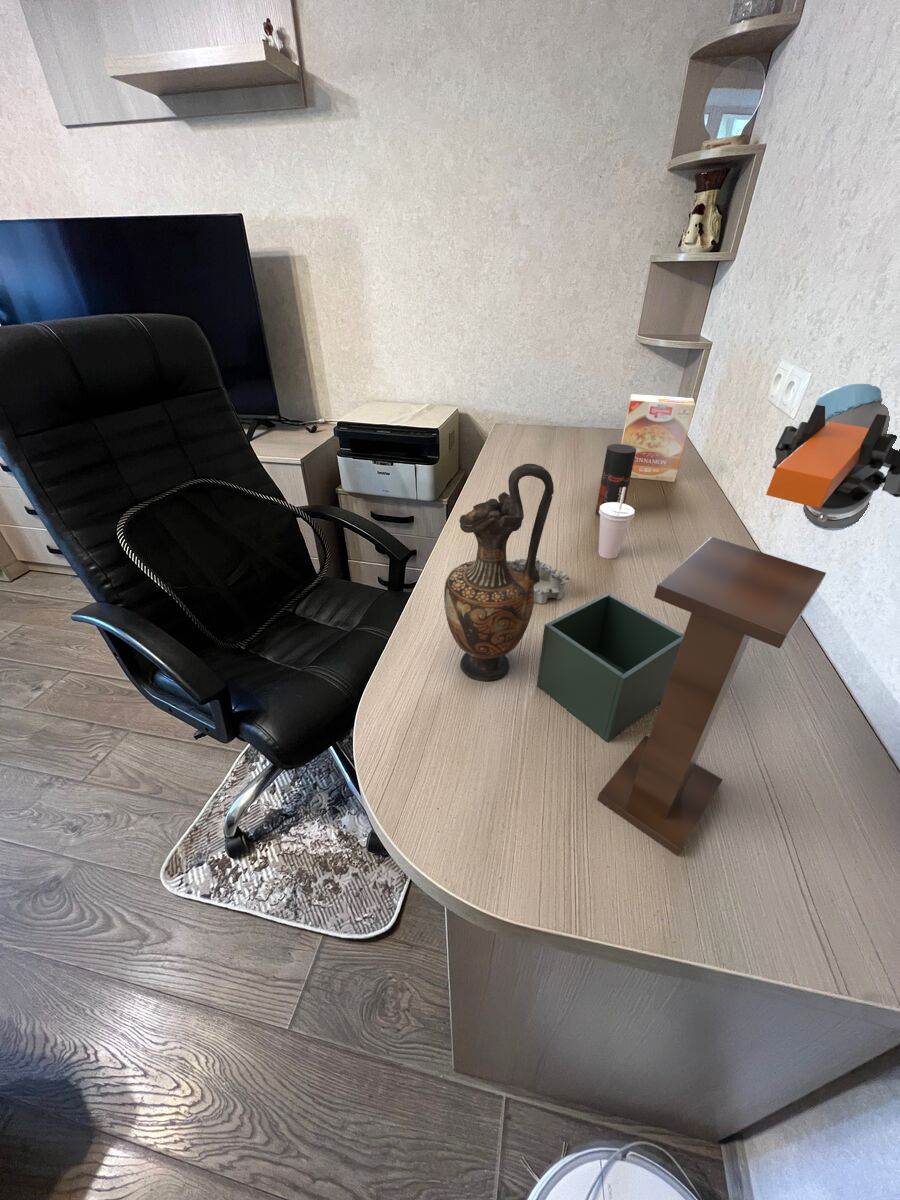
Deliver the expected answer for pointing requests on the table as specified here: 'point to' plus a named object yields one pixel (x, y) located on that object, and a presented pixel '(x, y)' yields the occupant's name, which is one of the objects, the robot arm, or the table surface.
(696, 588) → the stand
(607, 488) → the deodorant
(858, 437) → the block
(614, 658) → the trash bin
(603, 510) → the smoothie
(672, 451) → the coffeecake box
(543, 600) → the egg carton
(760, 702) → the table surface
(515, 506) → the vase
